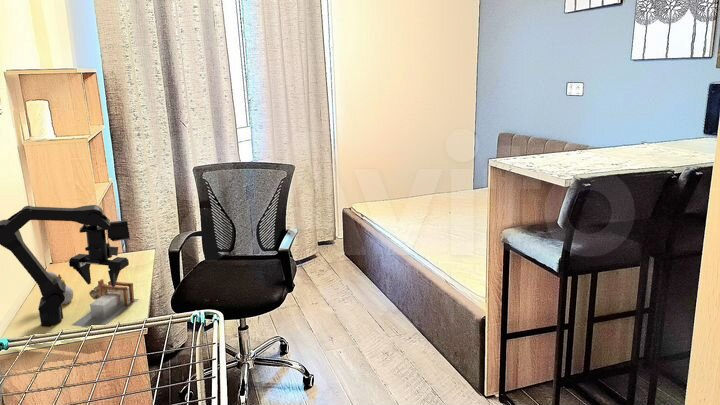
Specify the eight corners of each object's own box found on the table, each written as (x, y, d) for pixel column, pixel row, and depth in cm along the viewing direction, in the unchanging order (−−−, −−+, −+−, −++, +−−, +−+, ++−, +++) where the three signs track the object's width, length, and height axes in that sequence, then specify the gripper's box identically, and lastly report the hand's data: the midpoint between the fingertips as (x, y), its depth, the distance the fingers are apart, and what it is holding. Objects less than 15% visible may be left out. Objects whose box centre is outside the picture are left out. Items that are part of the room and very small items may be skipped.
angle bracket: (132, 302, 188) (131, 284, 186) (109, 299, 189) (108, 282, 188) (134, 301, 189) (132, 283, 187) (111, 298, 190) (109, 280, 189)
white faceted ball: (70, 307, 184) (66, 277, 181) (40, 309, 182) (36, 278, 179) (77, 298, 191) (73, 269, 188) (49, 299, 190) (45, 270, 186)
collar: (127, 306, 185) (125, 288, 183) (103, 304, 186) (102, 285, 184) (128, 305, 186) (127, 287, 184) (105, 302, 187) (103, 284, 185)
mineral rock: (90, 284, 199) (111, 278, 200) (94, 294, 200) (115, 287, 202) (82, 297, 189) (104, 290, 190) (87, 307, 190) (109, 300, 192)
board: (101, 330, 170) (101, 328, 169) (71, 327, 171) (71, 325, 171) (139, 301, 191) (139, 299, 191) (112, 298, 192) (112, 296, 192)
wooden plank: (102, 304, 188) (100, 281, 185) (100, 303, 188) (97, 281, 186) (106, 301, 190) (104, 279, 187) (103, 301, 190) (101, 279, 187)
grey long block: (105, 318, 176) (103, 304, 174) (91, 317, 176) (89, 303, 175) (130, 300, 190) (129, 287, 189) (117, 298, 191) (115, 285, 189)
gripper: (135, 237, 179) (139, 278, 183) (87, 233, 181) (91, 274, 185) (116, 247, 168) (121, 291, 172) (65, 243, 171) (70, 286, 175)
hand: (101, 285), depth 176 cm, fingers open, 9 cm apart
